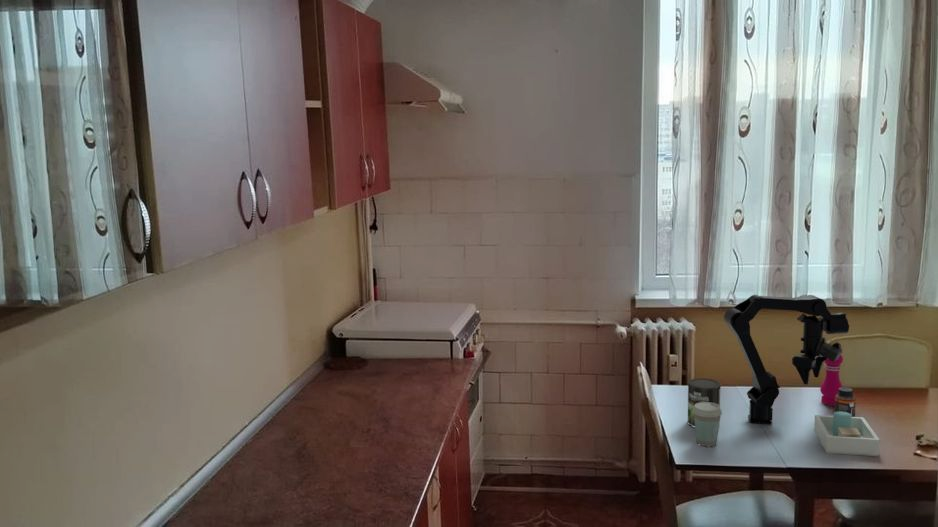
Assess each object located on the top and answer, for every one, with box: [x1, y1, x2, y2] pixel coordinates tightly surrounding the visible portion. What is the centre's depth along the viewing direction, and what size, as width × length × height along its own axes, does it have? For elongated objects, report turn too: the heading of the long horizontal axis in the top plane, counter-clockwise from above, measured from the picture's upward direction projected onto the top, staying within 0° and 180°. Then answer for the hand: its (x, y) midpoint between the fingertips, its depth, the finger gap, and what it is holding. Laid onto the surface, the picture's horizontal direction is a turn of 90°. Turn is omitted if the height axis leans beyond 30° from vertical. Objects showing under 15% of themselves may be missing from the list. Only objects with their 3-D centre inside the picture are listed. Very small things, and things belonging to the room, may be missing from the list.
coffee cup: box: [693, 402, 723, 448], centre depth 226 cm, size 9×8×12 cm
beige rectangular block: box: [838, 427, 861, 438], centre depth 219 cm, size 5×5×5 cm
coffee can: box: [687, 377, 722, 426], centre depth 241 cm, size 10×10×14 cm
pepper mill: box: [819, 353, 844, 406], centre depth 255 cm, size 7×7×20 cm
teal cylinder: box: [832, 411, 852, 436], centre depth 227 cm, size 5×5×7 cm
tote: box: [813, 414, 881, 457], centre depth 223 cm, size 14×18×5 cm
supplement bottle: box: [834, 387, 857, 417], centre depth 238 cm, size 6×6×11 cm
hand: (811, 380), depth 241 cm, fingers open, 9 cm apart
